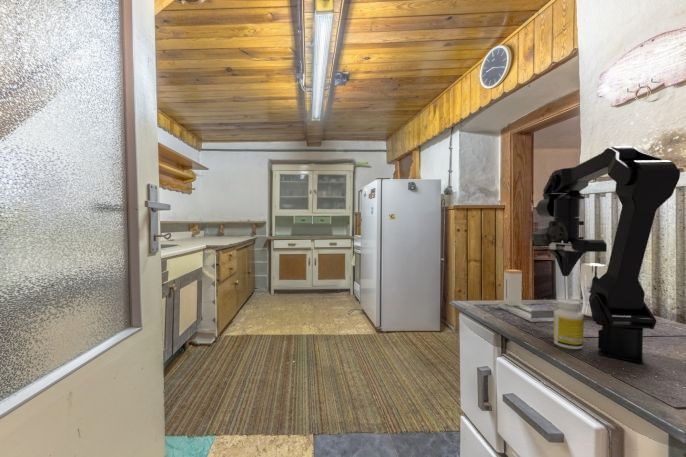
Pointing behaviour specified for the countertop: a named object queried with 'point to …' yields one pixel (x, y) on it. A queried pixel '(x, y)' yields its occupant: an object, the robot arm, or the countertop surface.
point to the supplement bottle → (568, 325)
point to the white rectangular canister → (512, 287)
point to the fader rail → (529, 313)
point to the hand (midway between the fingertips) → (565, 276)
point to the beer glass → (589, 282)
